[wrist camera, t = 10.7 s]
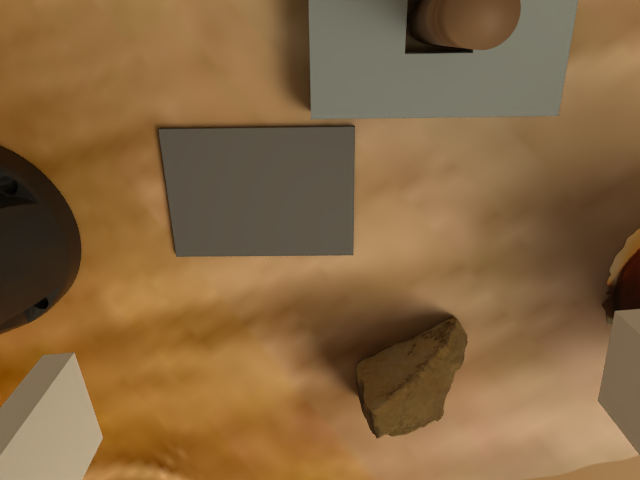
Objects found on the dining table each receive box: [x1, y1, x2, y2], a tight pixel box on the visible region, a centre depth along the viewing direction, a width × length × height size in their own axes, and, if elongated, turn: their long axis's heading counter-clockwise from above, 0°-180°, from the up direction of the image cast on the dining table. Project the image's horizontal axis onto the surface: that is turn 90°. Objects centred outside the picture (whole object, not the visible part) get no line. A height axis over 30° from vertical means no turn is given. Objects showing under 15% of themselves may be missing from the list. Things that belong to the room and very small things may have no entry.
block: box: [309, 0, 578, 119], centre depth 31 cm, size 16×12×3 cm
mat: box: [158, 126, 355, 257], centre depth 37 cm, size 14×10×1 cm
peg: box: [409, 0, 521, 50], centre depth 27 cm, size 3×3×12 cm
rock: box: [356, 317, 468, 438], centre depth 40 cm, size 11×9×10 cm
